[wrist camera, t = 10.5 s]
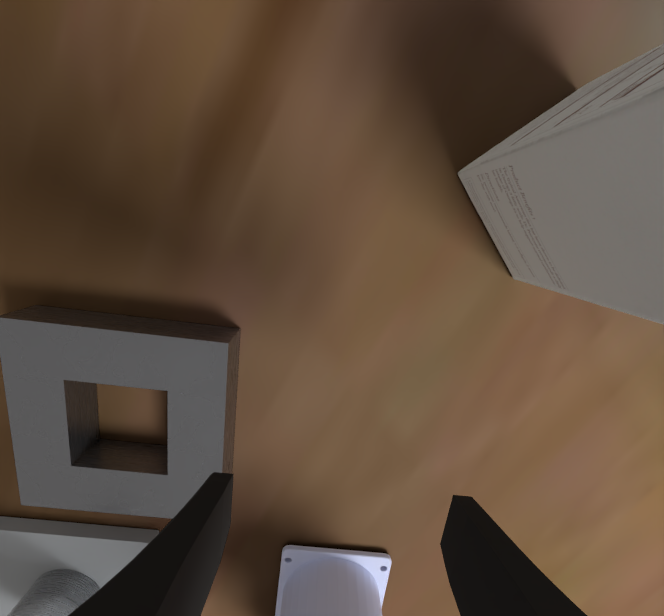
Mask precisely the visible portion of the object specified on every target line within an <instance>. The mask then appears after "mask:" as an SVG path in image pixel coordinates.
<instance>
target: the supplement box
mask: <svg viewBox="0 0 664 616" xmlns="http://www.w3.org/2000/svg"><path fill="white" fill-rule="evenodd" d="M458 176H459V178H460V180H461V182H462V184H463V185H464V187H465V189H466V191H467V193H468V195H469V197H470V199H471V201H472V203H473V205H474V206H475V208H476V210H477V212H478V214H479V216H480V217H481V219H482V221H483V223H484V225H485V227H486V229H487V230H488V232H489V234H490V236H491V238H492V240H493V241H494V243H495V245H496V247H497V249H498V251H499V252H500V254H501V256H502V258H503V260H504V262H505V263H506V265H507V267H508V269H509V271H510V273H511V274H512V277H513V278H514V279H515V280H519V281H522V282H526V283H529V284H532V285H536V286H539V287H542V288H546V289H549V290H552V291H555V292H559V293H562V294H565V295H569V296H572V297H575V298H578V299H582V300H585V301H588V302H591V303H594V304H598V305H601V306H605V307H608V308H611V309H615V310H618V311H621V312H625V313H628V314H631V315H635V316H638V317H641V318H644V319H648V320H651V321H654V322H657V323H661V324H664V44H662V45H660V46H658V47H656V48H654V49H652V50H650V51H648V52H647V53H645V54H643V55H641V56H639V57H637V58H635V59H633V60H631V61H629V62H627V63H625V64H623V65H622V66H620V67H618V68H616V69H614V70H612V71H610V72H608V73H606V74H604V75H602V76H600V77H599V78H597V79H595V80H593V81H591V82H589V83H587V84H586V85H584V86H582V87H581V88H579V89H578V90H576V91H575V92H574V93H572V94H571V95H569V96H568V97H566V98H565V99H564V100H562V101H561V102H559V103H558V104H556V105H555V106H553V107H552V108H550V109H549V110H547V111H546V112H544V113H543V114H541V115H540V116H538V117H537V118H535V119H534V120H533V121H531V122H530V123H528V124H527V125H525V126H524V127H522V128H521V129H519V130H518V131H516V132H515V133H514V134H512V135H511V136H509V137H508V138H506V139H505V140H503V141H502V142H500V143H499V144H497V145H496V146H494V147H493V148H492V149H490V150H489V151H487V152H486V153H484V154H483V155H481V156H480V157H478V158H477V159H476V160H474V161H473V162H471V163H470V164H468V165H467V166H466V167H464V168H463V169H461V170H460V171H459V172H458Z"/></svg>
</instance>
